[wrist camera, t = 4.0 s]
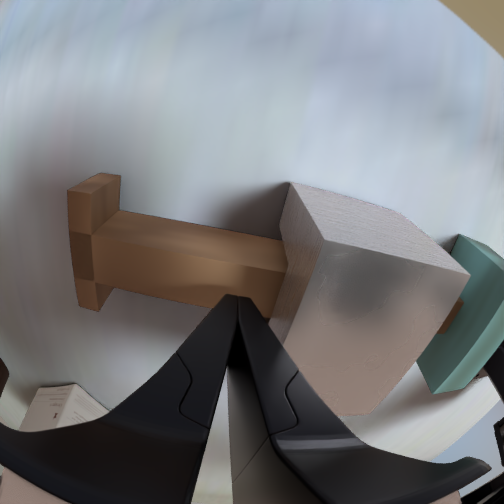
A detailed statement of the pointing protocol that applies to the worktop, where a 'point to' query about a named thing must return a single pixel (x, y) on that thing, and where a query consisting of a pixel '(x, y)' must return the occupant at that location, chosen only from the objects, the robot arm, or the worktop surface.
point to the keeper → (358, 295)
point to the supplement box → (61, 408)
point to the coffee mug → (3, 376)
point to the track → (255, 274)
